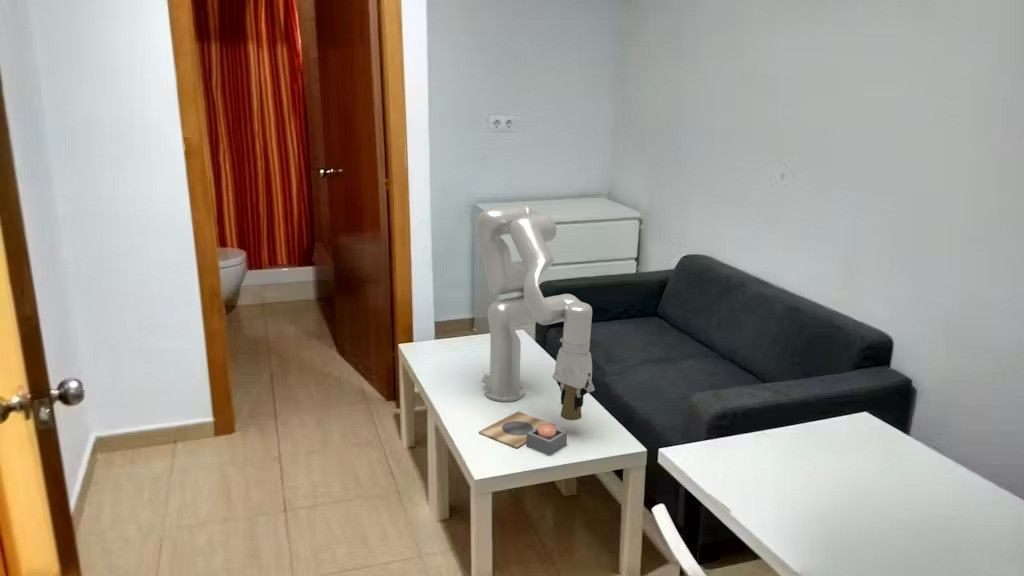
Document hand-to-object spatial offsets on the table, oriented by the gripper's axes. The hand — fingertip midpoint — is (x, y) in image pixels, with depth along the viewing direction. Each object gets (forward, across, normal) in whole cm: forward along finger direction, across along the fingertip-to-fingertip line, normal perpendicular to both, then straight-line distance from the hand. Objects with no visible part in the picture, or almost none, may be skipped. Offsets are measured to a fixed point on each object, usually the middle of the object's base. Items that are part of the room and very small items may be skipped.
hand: (571, 405), depth 224 cm
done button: (+6, 0, -11) cm, 13 cm away
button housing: (+8, 0, -11) cm, 14 cm away
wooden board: (+9, -12, -9) cm, 17 cm away
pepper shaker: (+3, 0, 0) cm, 3 cm away
